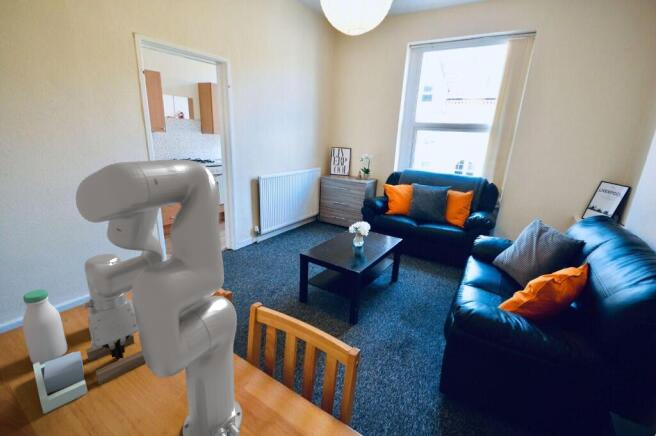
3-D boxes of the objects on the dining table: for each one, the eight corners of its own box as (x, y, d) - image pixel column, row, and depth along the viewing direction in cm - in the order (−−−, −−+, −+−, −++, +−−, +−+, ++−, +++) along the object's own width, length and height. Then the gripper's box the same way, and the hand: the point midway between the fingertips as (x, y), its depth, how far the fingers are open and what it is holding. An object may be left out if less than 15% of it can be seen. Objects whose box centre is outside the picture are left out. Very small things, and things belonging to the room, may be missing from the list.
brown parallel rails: (146, 362, 83) (145, 353, 82) (99, 384, 75) (97, 375, 74) (132, 339, 91) (131, 331, 90) (87, 358, 83) (86, 349, 82)
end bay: (87, 392, 72) (85, 379, 71) (43, 414, 67) (40, 400, 66) (75, 360, 82) (73, 348, 81) (36, 376, 76) (32, 364, 75)
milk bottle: (70, 355, 84) (56, 293, 78) (32, 370, 78) (14, 304, 73) (66, 342, 89) (52, 283, 83) (30, 354, 83) (13, 292, 78)
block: (84, 380, 76) (81, 366, 75) (47, 394, 72) (43, 379, 70) (83, 364, 81) (80, 350, 80) (48, 376, 77) (45, 362, 76)
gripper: (76, 317, 70) (89, 379, 75) (145, 295, 81) (152, 350, 86) (69, 305, 75) (82, 363, 80) (135, 285, 86) (143, 338, 91)
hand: (118, 356), depth 83 cm, fingers closed
